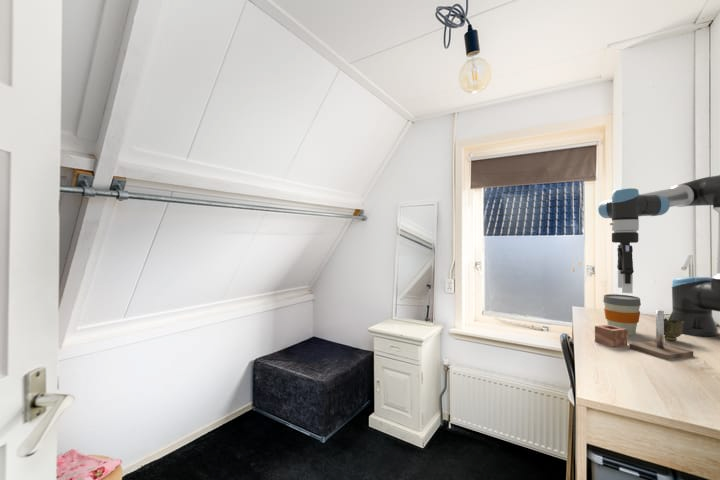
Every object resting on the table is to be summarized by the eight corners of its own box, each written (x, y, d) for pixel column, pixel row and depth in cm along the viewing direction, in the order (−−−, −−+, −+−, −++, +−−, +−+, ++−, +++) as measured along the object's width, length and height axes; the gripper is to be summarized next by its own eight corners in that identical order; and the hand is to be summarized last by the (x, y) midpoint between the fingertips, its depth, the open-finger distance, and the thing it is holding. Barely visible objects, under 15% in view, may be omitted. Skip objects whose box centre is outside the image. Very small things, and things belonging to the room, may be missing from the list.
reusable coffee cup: (601, 331, 139) (600, 297, 139) (606, 325, 147) (605, 293, 147) (639, 338, 130) (639, 300, 130) (642, 331, 138) (642, 296, 138)
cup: (689, 343, 122) (689, 322, 122) (666, 342, 124) (666, 322, 124) (674, 337, 129) (674, 317, 129) (653, 336, 131) (652, 317, 131)
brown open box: (608, 339, 128) (608, 324, 128) (627, 345, 122) (627, 329, 122) (594, 341, 127) (594, 325, 127) (612, 347, 120) (612, 330, 120)
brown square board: (653, 344, 122) (653, 340, 122) (693, 356, 110) (693, 351, 110) (629, 348, 119) (629, 343, 119) (667, 359, 107) (667, 355, 107)
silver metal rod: (658, 346, 115) (658, 309, 115) (665, 348, 114) (665, 311, 113) (654, 346, 115) (654, 310, 115) (661, 348, 113) (660, 311, 113)
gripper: (608, 232, 130) (608, 285, 130) (615, 231, 109) (615, 294, 109) (633, 232, 126) (633, 286, 126) (644, 231, 105) (644, 296, 105)
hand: (624, 290), depth 117 cm, fingers open, 13 cm apart
